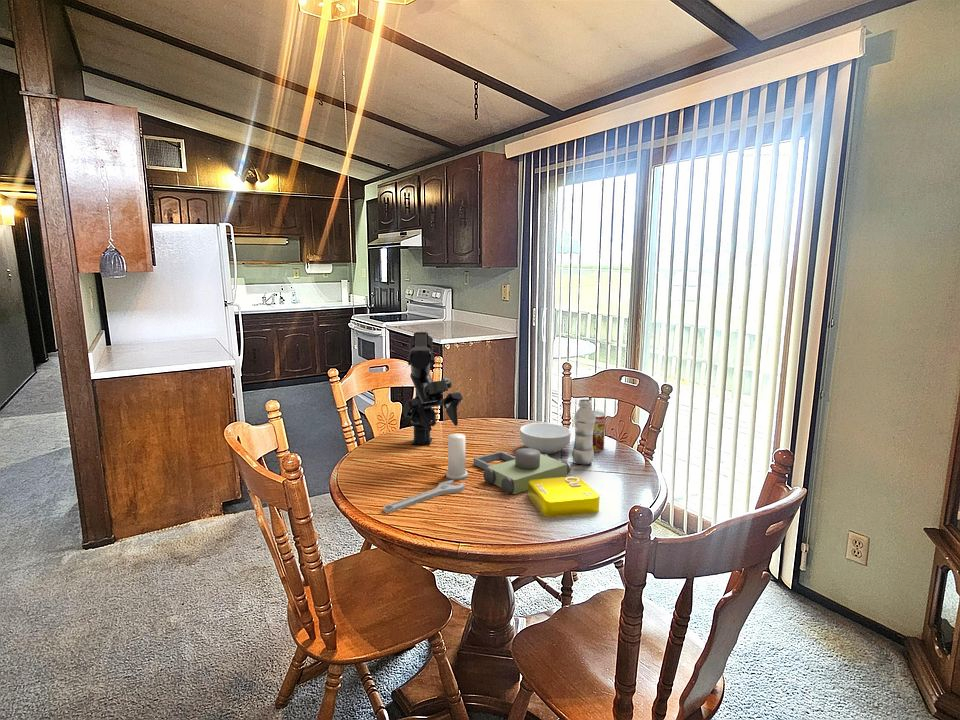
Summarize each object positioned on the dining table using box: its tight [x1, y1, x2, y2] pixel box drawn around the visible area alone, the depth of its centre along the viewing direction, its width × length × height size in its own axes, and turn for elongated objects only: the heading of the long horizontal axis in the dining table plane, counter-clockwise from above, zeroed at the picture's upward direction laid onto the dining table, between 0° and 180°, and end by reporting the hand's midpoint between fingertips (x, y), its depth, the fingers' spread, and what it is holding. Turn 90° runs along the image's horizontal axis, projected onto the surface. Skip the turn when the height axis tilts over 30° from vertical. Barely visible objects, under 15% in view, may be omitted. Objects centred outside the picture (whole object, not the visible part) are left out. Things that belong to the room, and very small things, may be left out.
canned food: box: [592, 410, 606, 453], centre depth 182 cm, size 8×8×12 cm
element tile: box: [527, 475, 600, 518], centre depth 140 cm, size 15×15×5 cm
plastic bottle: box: [571, 398, 596, 466], centre depth 167 cm, size 6×7×20 cm
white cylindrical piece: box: [445, 433, 469, 481], centre depth 157 cm, size 6×6×12 cm
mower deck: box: [473, 447, 571, 495], centre depth 160 cm, size 24×22×8 cm
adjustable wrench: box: [382, 479, 466, 514], centre depth 143 cm, size 25×6×2 cm, turn 128°
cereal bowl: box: [519, 422, 571, 454], centre depth 181 cm, size 17×17×7 cm
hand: (443, 427), depth 161 cm, fingers open, 9 cm apart
